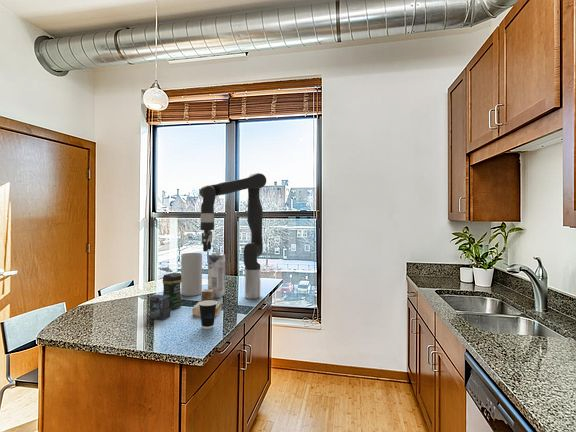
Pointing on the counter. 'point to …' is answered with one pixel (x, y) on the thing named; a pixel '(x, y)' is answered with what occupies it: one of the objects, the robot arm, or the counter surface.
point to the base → (197, 309)
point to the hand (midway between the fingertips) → (207, 250)
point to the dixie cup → (207, 313)
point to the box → (159, 307)
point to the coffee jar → (172, 289)
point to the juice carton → (216, 274)
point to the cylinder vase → (191, 274)
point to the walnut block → (207, 294)
